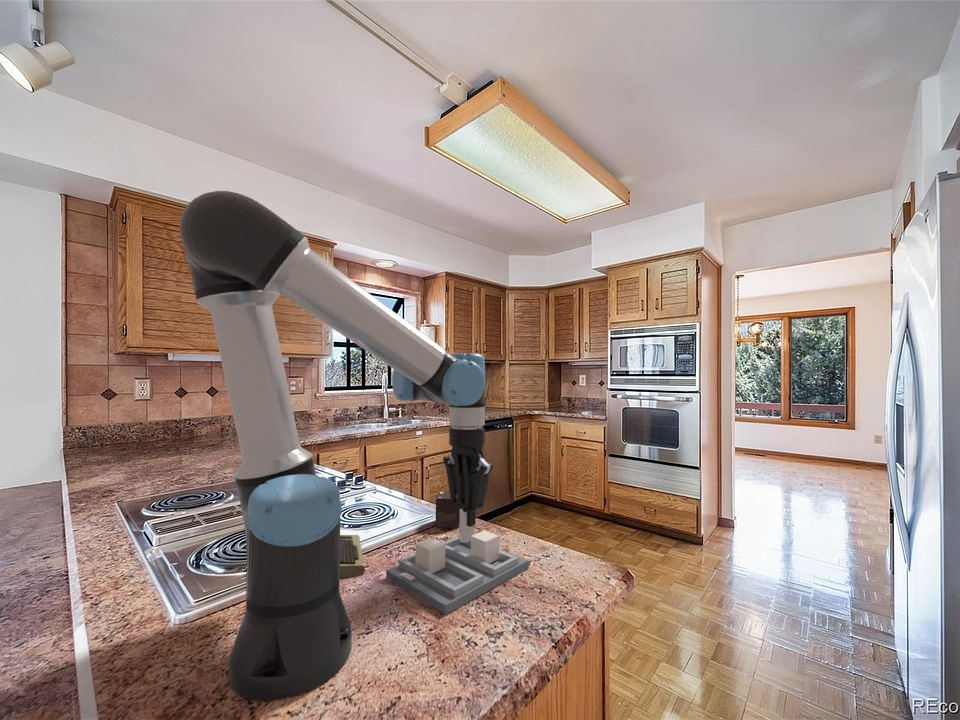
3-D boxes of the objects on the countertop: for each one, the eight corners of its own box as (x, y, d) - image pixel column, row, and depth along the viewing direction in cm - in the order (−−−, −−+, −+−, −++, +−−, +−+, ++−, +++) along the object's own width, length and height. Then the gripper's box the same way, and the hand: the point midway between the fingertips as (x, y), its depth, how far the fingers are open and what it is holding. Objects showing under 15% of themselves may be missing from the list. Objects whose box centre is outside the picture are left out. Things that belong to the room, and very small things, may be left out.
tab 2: (485, 565, 79) (485, 541, 79) (470, 558, 82) (470, 535, 82) (499, 558, 82) (499, 535, 82) (484, 552, 85) (484, 530, 85)
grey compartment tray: (445, 614, 66) (445, 597, 66) (385, 578, 78) (386, 563, 78) (528, 568, 82) (528, 554, 82) (468, 543, 94) (468, 531, 94)
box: (459, 528, 103) (459, 498, 103) (435, 528, 103) (435, 498, 103) (460, 519, 109) (460, 491, 109) (438, 519, 109) (438, 491, 109)
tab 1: (428, 575, 75) (428, 550, 75) (415, 567, 78) (415, 543, 78) (445, 567, 78) (445, 543, 78) (431, 560, 81) (431, 537, 81)
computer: (365, 576, 79) (365, 559, 79) (320, 583, 77) (320, 565, 77) (360, 544, 94) (360, 529, 94) (322, 549, 91) (322, 534, 91)
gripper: (502, 428, 85) (502, 544, 84) (459, 422, 94) (459, 527, 93) (476, 431, 79) (475, 555, 79) (433, 425, 88) (432, 536, 88)
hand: (466, 540), depth 86 cm, fingers closed
